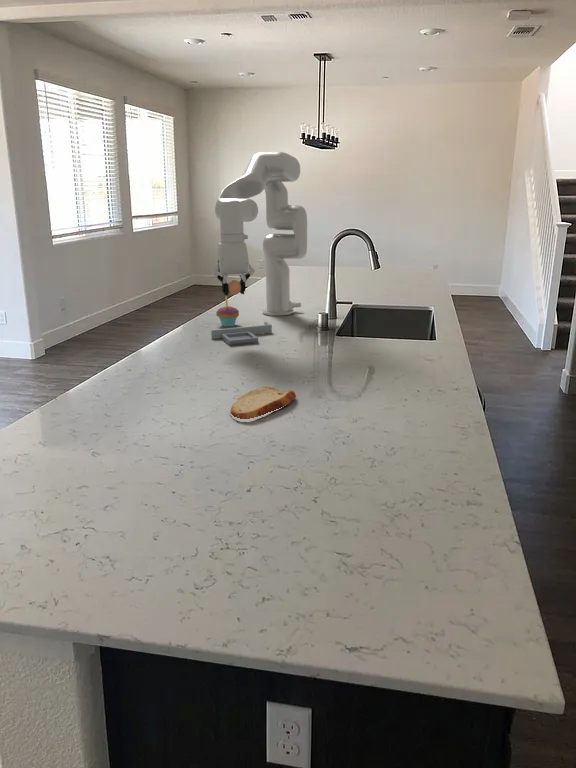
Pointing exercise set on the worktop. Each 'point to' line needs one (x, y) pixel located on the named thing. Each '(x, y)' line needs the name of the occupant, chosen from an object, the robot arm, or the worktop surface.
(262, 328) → the wall
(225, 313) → the cupcake
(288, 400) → the bread slice
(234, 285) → the ball
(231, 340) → the dish
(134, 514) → the worktop surface
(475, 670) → the worktop surface
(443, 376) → the worktop surface
